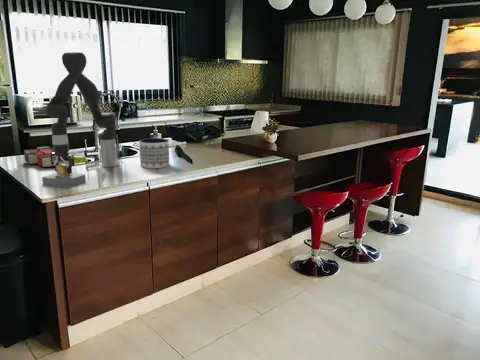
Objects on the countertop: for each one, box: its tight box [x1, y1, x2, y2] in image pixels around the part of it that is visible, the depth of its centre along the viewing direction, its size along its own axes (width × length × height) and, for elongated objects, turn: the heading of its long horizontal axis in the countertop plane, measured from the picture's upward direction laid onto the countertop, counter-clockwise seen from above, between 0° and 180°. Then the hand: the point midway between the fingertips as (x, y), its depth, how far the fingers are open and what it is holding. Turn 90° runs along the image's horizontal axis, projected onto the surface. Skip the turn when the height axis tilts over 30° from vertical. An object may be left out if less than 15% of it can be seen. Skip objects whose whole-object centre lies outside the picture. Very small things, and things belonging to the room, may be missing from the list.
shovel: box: [174, 144, 194, 164], centre depth 274 cm, size 35×4×8 cm, turn 26°
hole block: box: [41, 172, 87, 189], centre depth 210 cm, size 14×16×4 cm
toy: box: [23, 146, 63, 168], centre depth 252 cm, size 24×9×30 cm
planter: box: [138, 137, 170, 169], centre depth 251 cm, size 18×18×16 cm
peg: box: [56, 163, 70, 178], centre depth 209 cm, size 4×4×10 cm
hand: (63, 172), depth 209 cm, fingers open, 8 cm apart
